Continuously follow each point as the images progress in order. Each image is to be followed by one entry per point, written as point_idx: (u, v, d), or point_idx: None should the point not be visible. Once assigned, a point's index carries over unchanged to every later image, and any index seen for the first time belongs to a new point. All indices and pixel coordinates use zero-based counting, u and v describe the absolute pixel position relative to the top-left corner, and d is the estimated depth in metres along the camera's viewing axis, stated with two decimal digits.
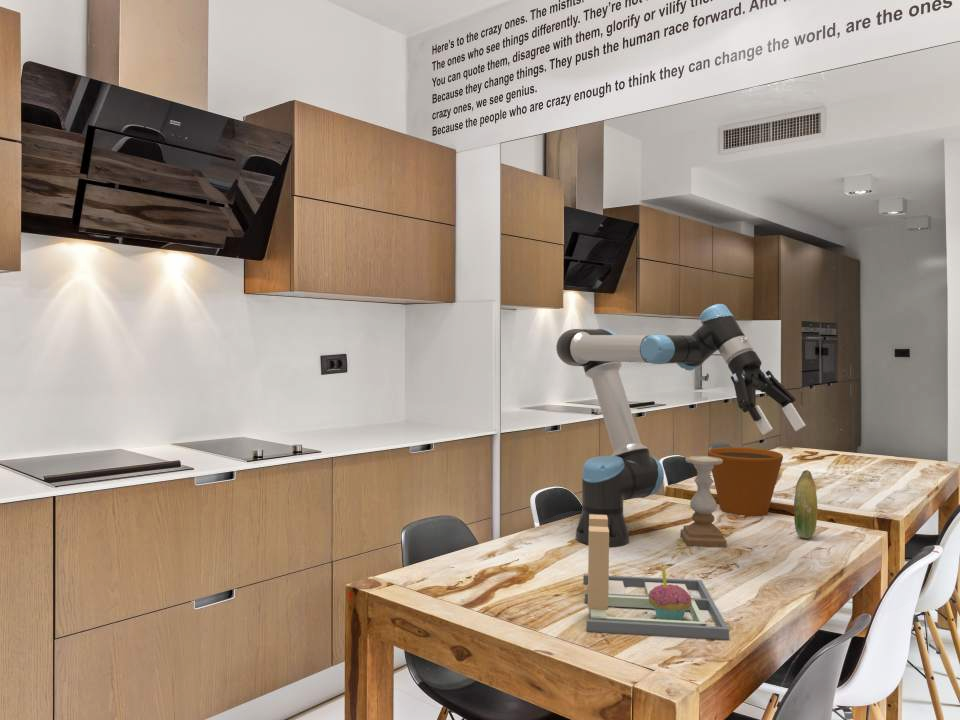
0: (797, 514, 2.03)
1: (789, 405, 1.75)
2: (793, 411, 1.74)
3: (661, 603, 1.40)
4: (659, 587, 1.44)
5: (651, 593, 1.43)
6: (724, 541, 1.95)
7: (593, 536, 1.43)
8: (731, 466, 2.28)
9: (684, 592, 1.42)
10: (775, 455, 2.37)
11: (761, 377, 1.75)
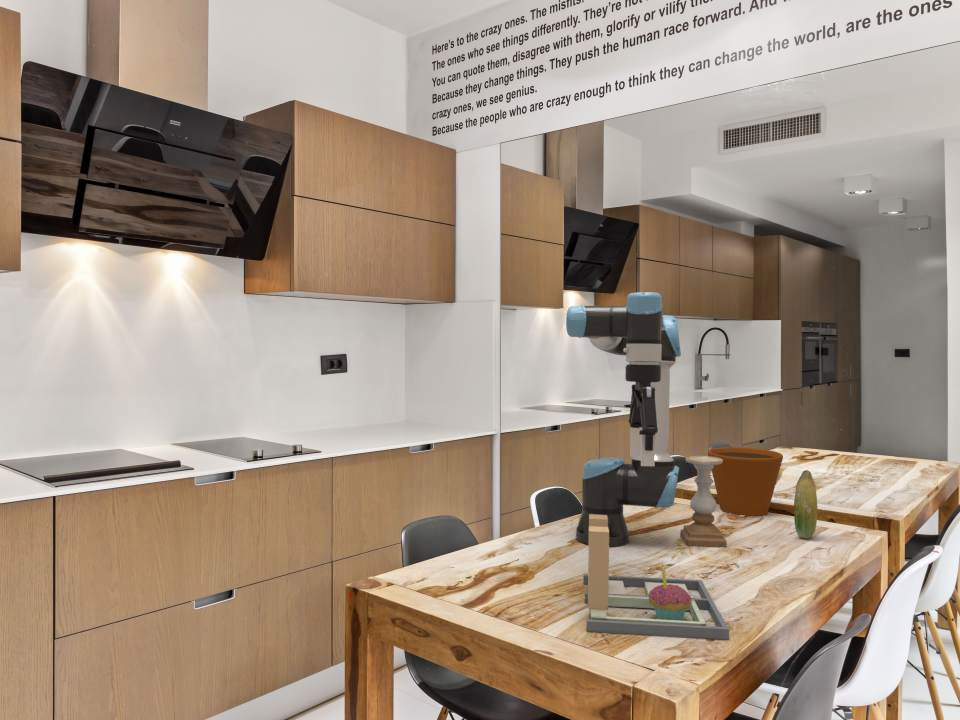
0: (797, 514, 2.03)
1: None
2: None
3: (661, 603, 1.40)
4: (659, 587, 1.44)
5: (651, 593, 1.43)
6: (724, 541, 1.95)
7: (593, 536, 1.43)
8: (731, 466, 2.28)
9: (684, 592, 1.42)
10: (775, 455, 2.37)
11: None
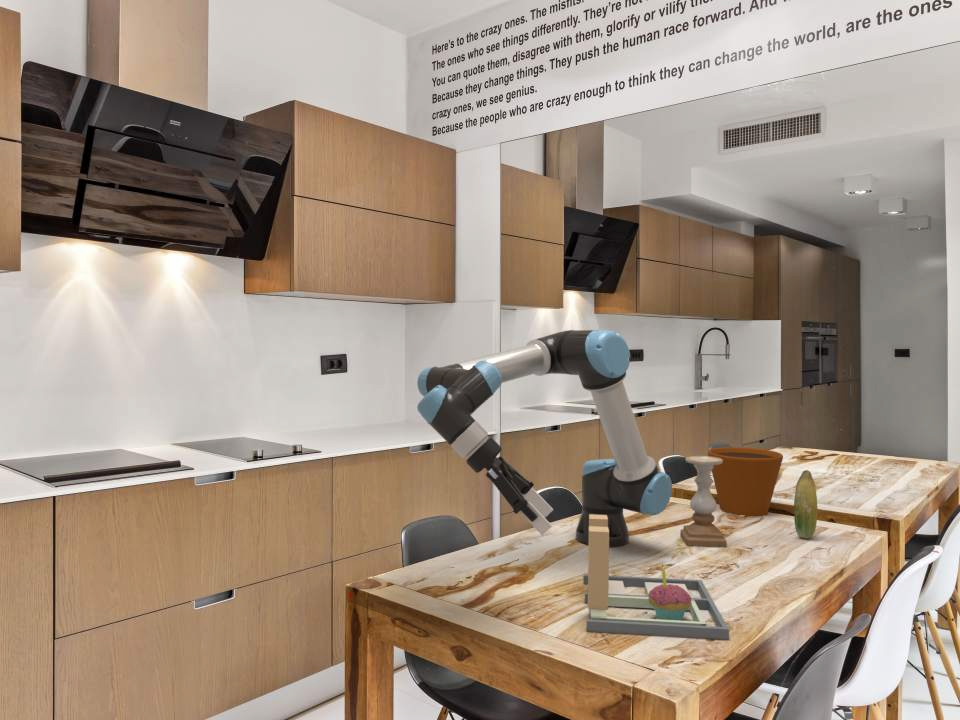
0: (797, 514, 2.03)
1: None
2: None
3: (661, 603, 1.40)
4: (659, 587, 1.44)
5: (651, 593, 1.43)
6: (724, 541, 1.95)
7: (593, 536, 1.43)
8: (731, 466, 2.28)
9: (684, 592, 1.42)
10: (775, 455, 2.37)
11: None
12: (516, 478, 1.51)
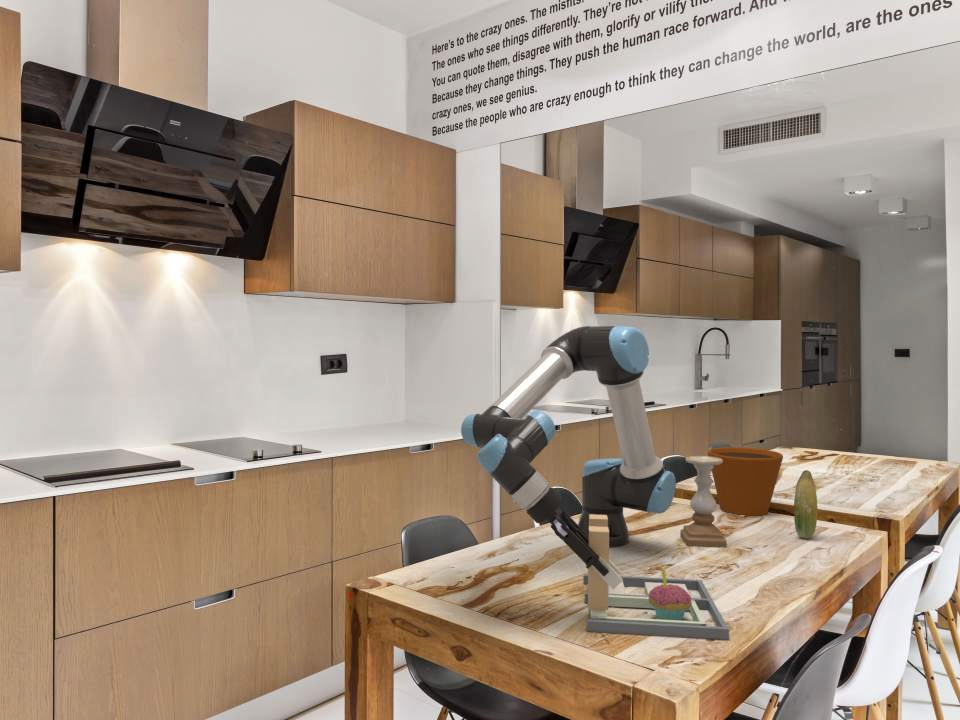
0: (797, 514, 2.03)
1: None
2: None
3: (661, 603, 1.40)
4: (659, 587, 1.44)
5: (651, 593, 1.43)
6: (724, 541, 1.95)
7: (593, 536, 1.43)
8: (731, 466, 2.28)
9: (684, 592, 1.42)
10: (775, 455, 2.37)
11: None
12: (578, 533, 1.47)
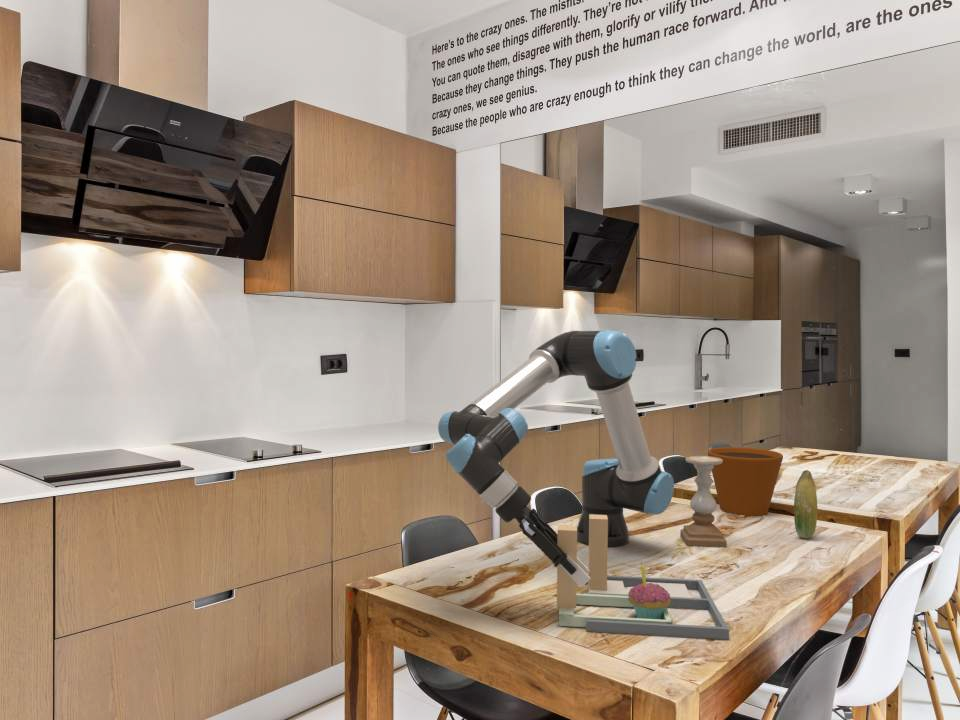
0: (797, 514, 2.03)
1: None
2: None
3: (639, 601, 1.41)
4: (639, 585, 1.45)
5: (630, 591, 1.44)
6: (724, 541, 1.95)
7: (561, 535, 1.44)
8: (731, 466, 2.28)
9: (663, 591, 1.43)
10: (775, 455, 2.37)
11: None
12: (547, 532, 1.48)
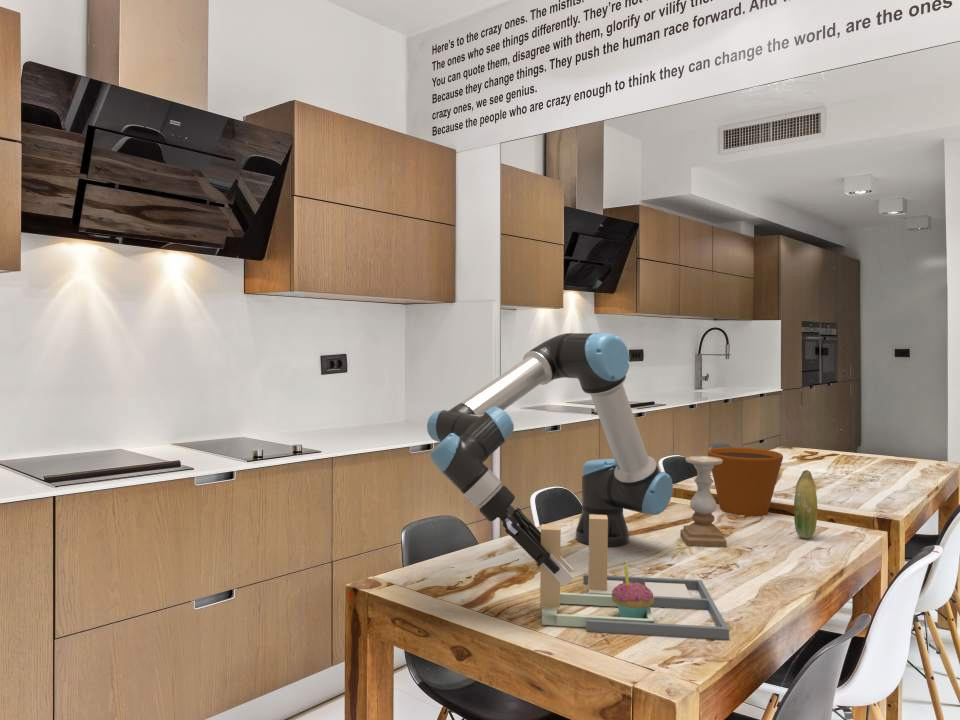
0: (797, 514, 2.03)
1: None
2: None
3: (621, 600, 1.41)
4: (622, 584, 1.45)
5: (614, 590, 1.45)
6: (724, 541, 1.95)
7: (544, 534, 1.44)
8: (731, 466, 2.28)
9: (646, 590, 1.43)
10: (775, 455, 2.37)
11: None
12: (531, 531, 1.48)
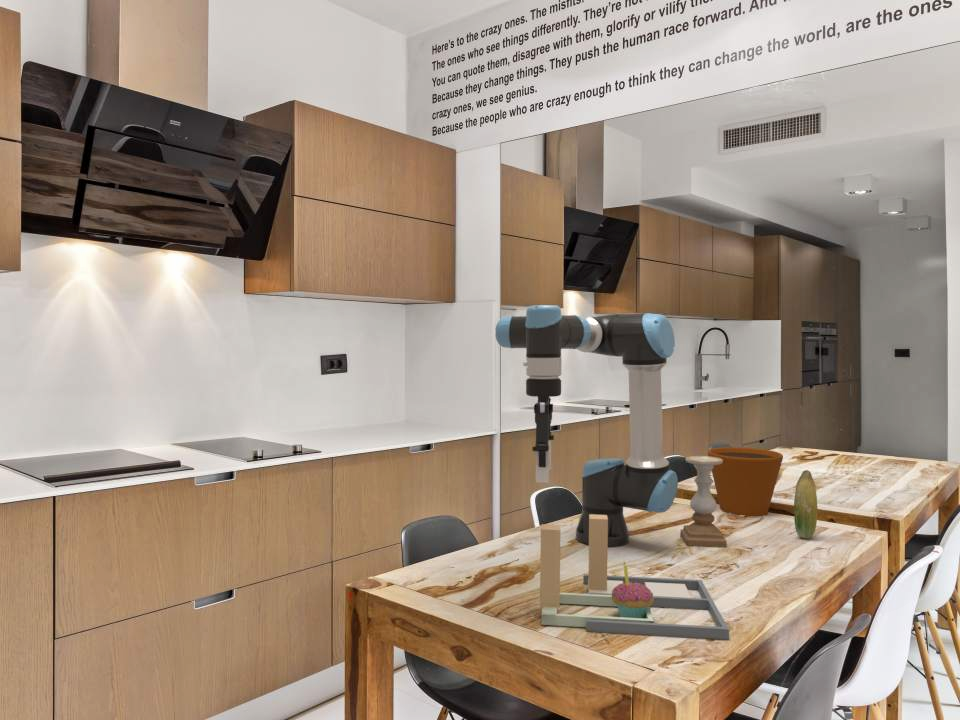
0: (797, 514, 2.03)
1: None
2: None
3: (621, 600, 1.41)
4: (622, 584, 1.45)
5: (613, 590, 1.45)
6: (724, 541, 1.95)
7: (544, 534, 1.44)
8: (731, 466, 2.28)
9: (646, 590, 1.43)
10: (775, 455, 2.37)
11: None
12: (548, 424, 1.55)
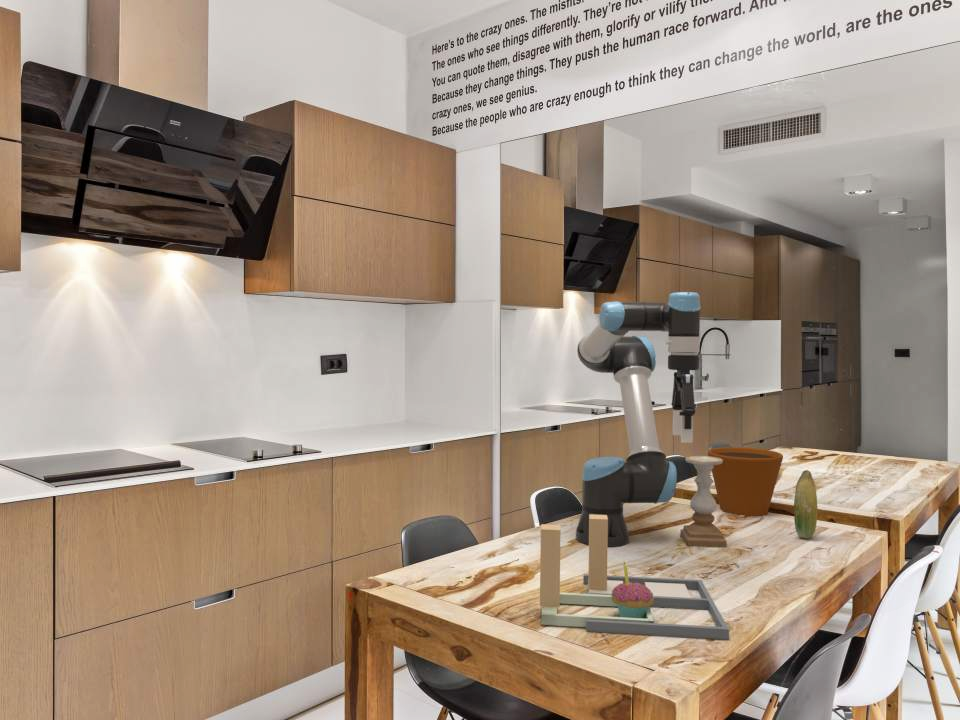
0: (797, 514, 2.03)
1: None
2: None
3: (621, 600, 1.41)
4: (622, 584, 1.45)
5: (613, 590, 1.45)
6: (724, 541, 1.95)
7: (544, 534, 1.44)
8: (731, 466, 2.28)
9: (646, 590, 1.43)
10: (775, 455, 2.37)
11: None
12: None
